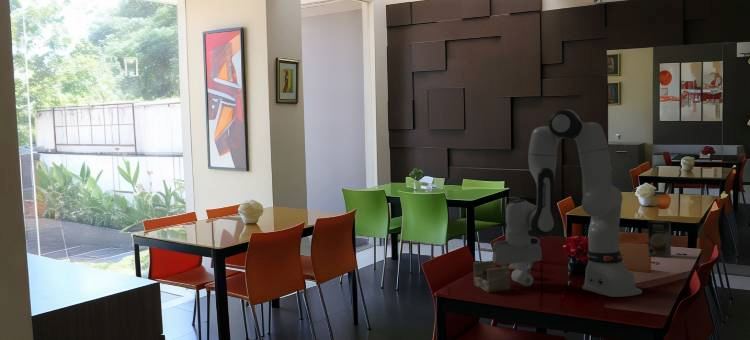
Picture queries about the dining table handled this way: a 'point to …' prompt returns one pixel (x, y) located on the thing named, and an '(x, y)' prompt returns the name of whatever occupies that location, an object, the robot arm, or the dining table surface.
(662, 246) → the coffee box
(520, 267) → the smoothie
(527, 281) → the roll
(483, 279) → the holder
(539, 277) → the dining table surface
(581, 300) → the dining table surface
